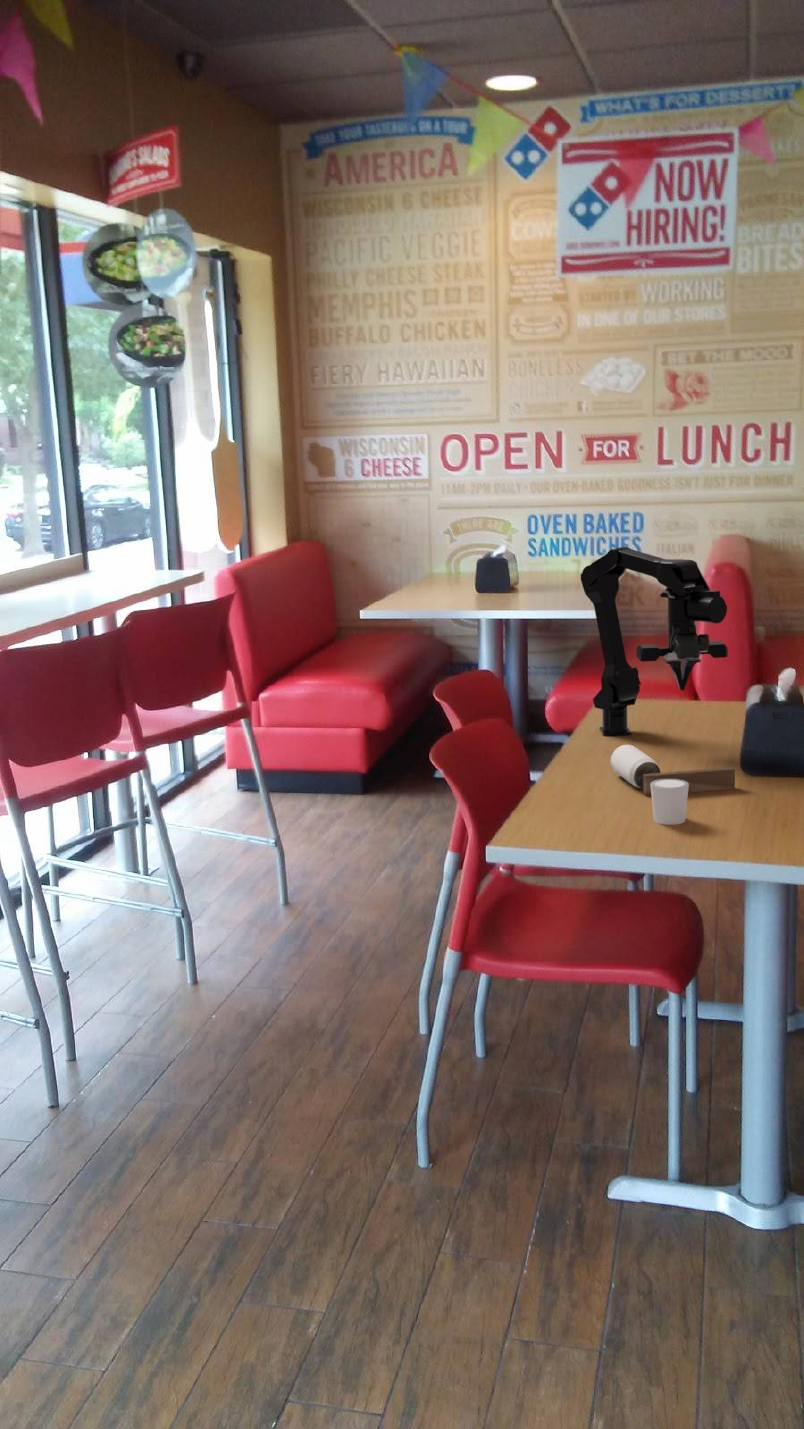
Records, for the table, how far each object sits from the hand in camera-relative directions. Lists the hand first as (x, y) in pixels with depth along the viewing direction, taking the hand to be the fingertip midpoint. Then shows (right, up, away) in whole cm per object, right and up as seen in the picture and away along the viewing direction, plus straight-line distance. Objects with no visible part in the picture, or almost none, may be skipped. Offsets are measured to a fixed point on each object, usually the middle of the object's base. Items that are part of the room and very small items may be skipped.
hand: (681, 690), depth 281 cm
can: (-15, -14, -16) cm, 26 cm away
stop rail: (-5, -20, -29) cm, 36 cm away
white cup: (-12, -25, -46) cm, 53 cm away
